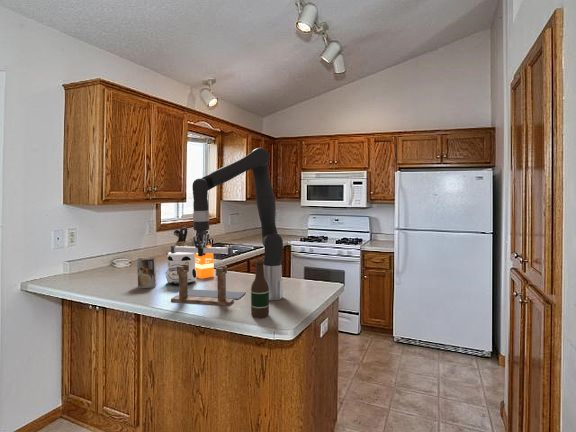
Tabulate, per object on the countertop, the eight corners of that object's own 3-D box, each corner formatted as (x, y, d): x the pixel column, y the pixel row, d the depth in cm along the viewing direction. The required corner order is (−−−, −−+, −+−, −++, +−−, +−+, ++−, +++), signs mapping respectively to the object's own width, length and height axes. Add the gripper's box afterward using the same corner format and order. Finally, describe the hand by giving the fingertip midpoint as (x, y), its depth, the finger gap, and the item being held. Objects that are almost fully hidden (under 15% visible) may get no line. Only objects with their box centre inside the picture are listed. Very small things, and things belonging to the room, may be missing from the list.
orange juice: (195, 276, 234) (195, 245, 233) (207, 274, 240) (207, 244, 239) (201, 278, 228) (201, 246, 227) (213, 276, 234) (213, 245, 233)
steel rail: (233, 253, 176) (232, 246, 176) (230, 255, 173) (230, 247, 173) (174, 252, 182) (174, 245, 182) (171, 253, 179) (170, 246, 178)
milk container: (170, 288, 205) (170, 256, 204) (163, 281, 219) (162, 252, 218) (200, 284, 214) (200, 253, 213) (191, 278, 229) (191, 249, 228)
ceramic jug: (182, 274, 241) (182, 228, 239) (163, 272, 246) (162, 227, 244) (197, 269, 256) (197, 226, 255) (179, 267, 262) (179, 225, 260)
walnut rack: (233, 301, 179) (233, 266, 178) (229, 305, 173) (229, 268, 172) (177, 298, 185) (176, 263, 184) (170, 301, 179) (170, 266, 178)
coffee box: (156, 284, 212) (155, 257, 211) (154, 287, 206) (154, 259, 205) (139, 285, 210) (139, 257, 209) (137, 288, 204) (136, 259, 203)
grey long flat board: (245, 293, 194) (245, 292, 194) (238, 299, 183) (238, 298, 183) (189, 290, 201) (189, 289, 201) (179, 296, 189) (179, 295, 189)
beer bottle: (252, 312, 163) (252, 258, 162) (270, 313, 162) (270, 259, 161) (249, 318, 155) (249, 262, 154) (267, 318, 155) (267, 262, 153)
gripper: (202, 221, 169) (203, 258, 170) (214, 219, 183) (214, 253, 184) (187, 221, 170) (188, 258, 171) (200, 219, 184) (200, 253, 185)
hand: (201, 255), depth 178 cm, fingers closed on steel rail, 2 cm apart
